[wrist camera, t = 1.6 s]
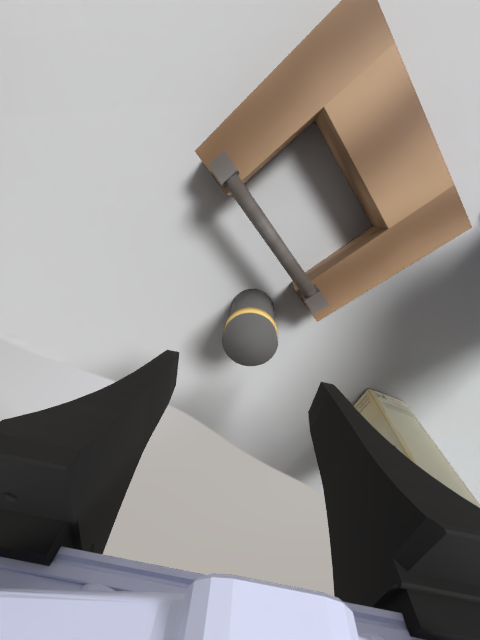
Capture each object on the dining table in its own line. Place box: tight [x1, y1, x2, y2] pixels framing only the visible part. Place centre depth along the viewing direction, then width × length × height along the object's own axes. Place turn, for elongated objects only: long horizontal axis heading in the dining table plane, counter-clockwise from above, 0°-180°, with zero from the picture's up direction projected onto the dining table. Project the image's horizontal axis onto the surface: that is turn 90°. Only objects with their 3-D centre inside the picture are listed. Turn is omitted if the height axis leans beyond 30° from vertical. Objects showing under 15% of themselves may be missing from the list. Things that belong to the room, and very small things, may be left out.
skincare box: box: [354, 389, 480, 508], centre depth 20 cm, size 6×4×12 cm
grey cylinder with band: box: [222, 289, 278, 366], centre depth 19 cm, size 4×4×6 cm
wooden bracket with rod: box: [195, 0, 472, 322], centre depth 16 cm, size 14×11×4 cm
